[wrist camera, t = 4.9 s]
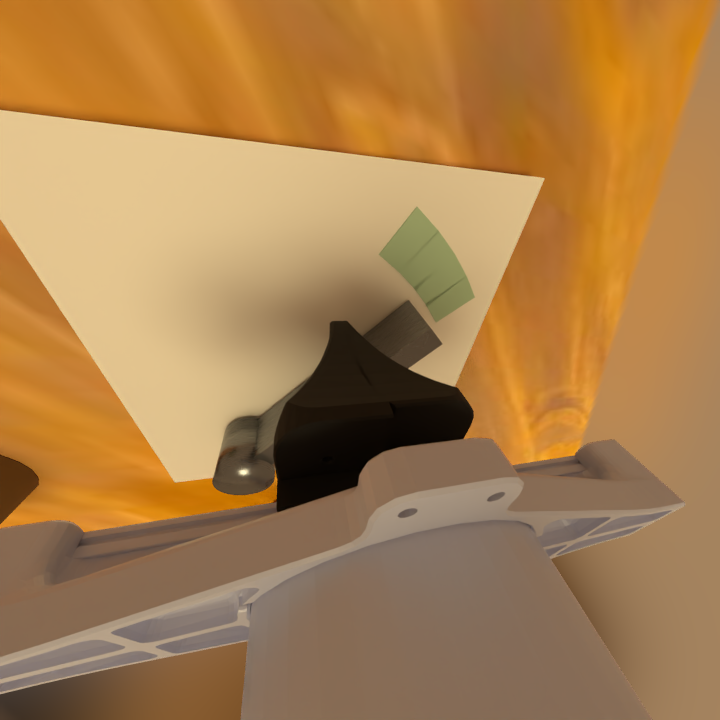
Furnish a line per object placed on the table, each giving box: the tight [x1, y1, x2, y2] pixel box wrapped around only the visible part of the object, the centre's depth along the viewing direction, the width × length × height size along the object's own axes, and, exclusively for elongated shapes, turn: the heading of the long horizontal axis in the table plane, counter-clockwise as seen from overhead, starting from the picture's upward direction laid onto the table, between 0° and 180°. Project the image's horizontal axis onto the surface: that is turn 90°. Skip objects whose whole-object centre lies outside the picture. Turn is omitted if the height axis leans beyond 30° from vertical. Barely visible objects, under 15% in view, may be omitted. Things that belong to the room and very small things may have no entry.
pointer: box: [213, 300, 442, 495], centre depth 14 cm, size 15×3×3 cm, turn 129°
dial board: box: [0, 110, 545, 483], centre depth 15 cm, size 20×20×1 cm
